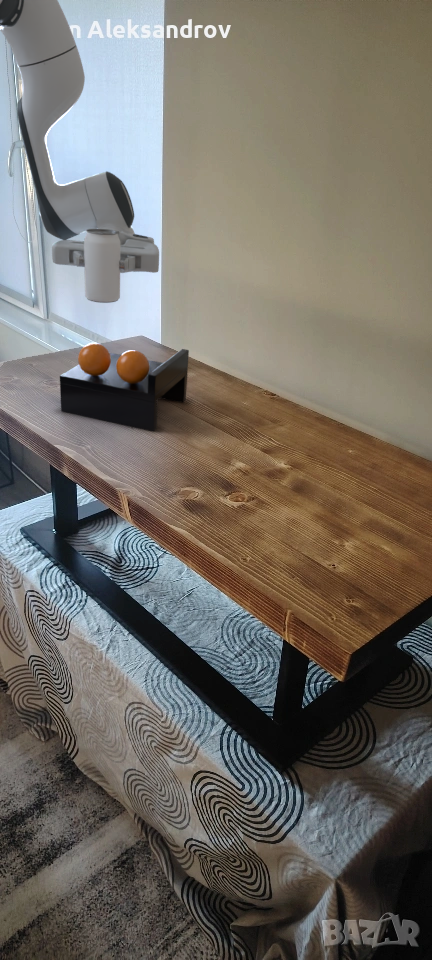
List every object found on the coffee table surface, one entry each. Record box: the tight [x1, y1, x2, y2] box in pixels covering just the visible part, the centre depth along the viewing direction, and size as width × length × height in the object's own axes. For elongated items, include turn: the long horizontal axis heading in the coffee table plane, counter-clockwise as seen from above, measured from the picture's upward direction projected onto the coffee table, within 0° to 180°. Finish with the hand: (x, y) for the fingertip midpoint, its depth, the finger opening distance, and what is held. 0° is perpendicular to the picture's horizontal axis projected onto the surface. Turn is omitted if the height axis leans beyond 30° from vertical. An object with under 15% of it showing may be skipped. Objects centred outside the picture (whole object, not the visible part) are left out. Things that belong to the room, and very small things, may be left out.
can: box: [83, 228, 121, 304], centre depth 115 cm, size 6×6×12 cm
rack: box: [59, 342, 190, 432], centre depth 101 cm, size 16×14×11 cm
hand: (102, 264), depth 114 cm, fingers closed on can, 6 cm apart
